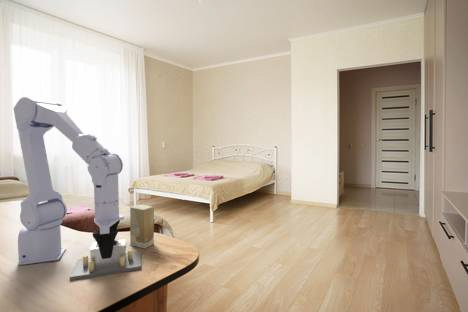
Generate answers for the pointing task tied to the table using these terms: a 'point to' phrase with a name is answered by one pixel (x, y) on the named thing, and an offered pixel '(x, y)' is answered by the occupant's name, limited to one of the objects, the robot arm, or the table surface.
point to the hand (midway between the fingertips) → (108, 251)
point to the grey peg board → (86, 267)
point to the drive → (115, 258)
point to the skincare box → (142, 226)
